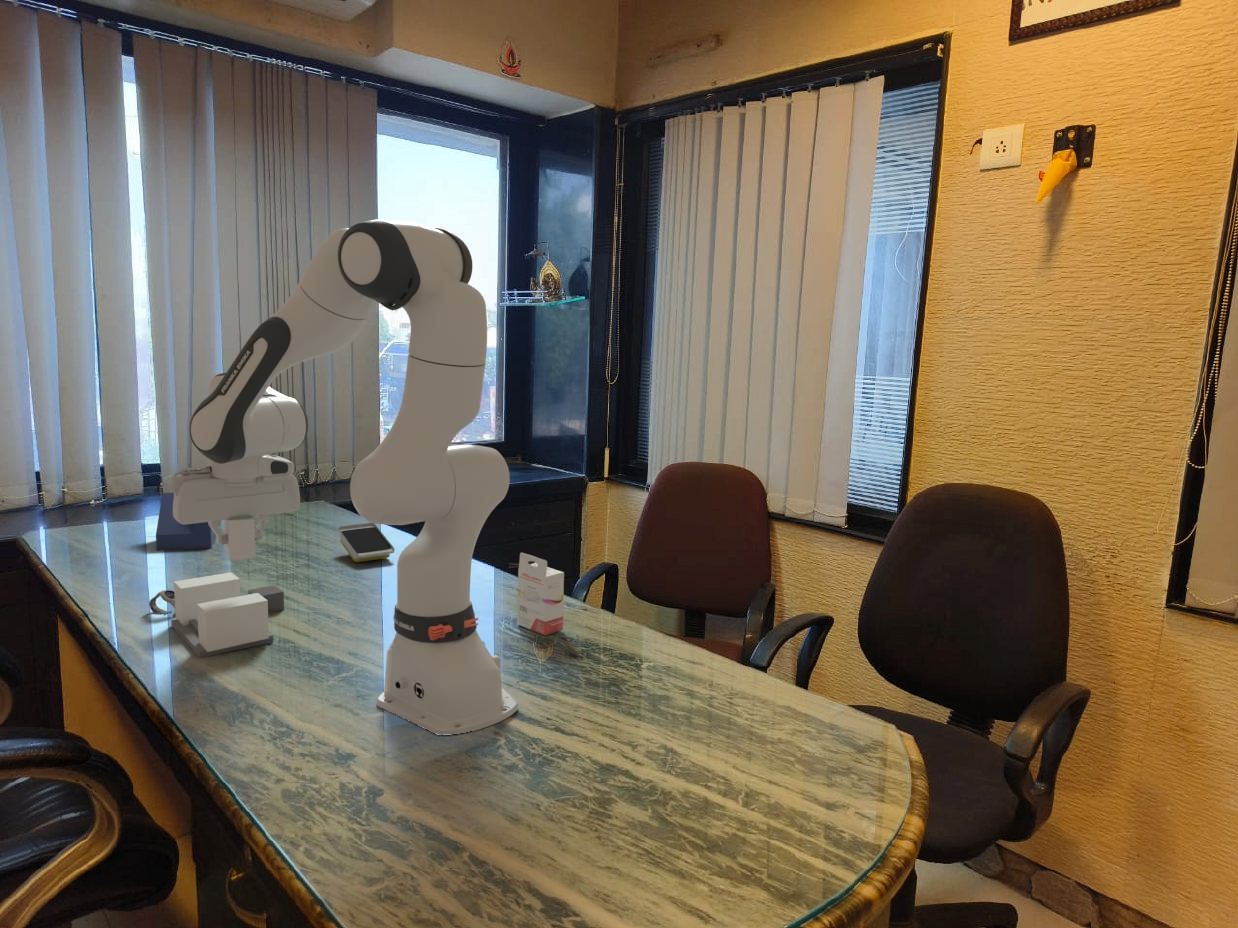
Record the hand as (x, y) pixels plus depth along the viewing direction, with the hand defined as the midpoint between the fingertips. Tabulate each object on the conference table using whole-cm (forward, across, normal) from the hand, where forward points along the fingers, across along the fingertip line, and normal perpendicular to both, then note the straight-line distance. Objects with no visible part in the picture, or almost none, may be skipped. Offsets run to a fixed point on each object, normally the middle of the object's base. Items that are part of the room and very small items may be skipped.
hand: (239, 541), depth 139 cm
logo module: (+2, 0, 0) cm, 2 cm away
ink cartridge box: (+18, +47, -27) cm, 57 cm away
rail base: (+18, -2, +4) cm, 19 cm away
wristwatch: (+19, -7, +21) cm, 29 cm away
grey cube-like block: (+19, +9, +13) cm, 25 cm away
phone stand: (+21, +10, +72) cm, 76 cm away
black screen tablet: (+15, +41, +45) cm, 63 cm away
